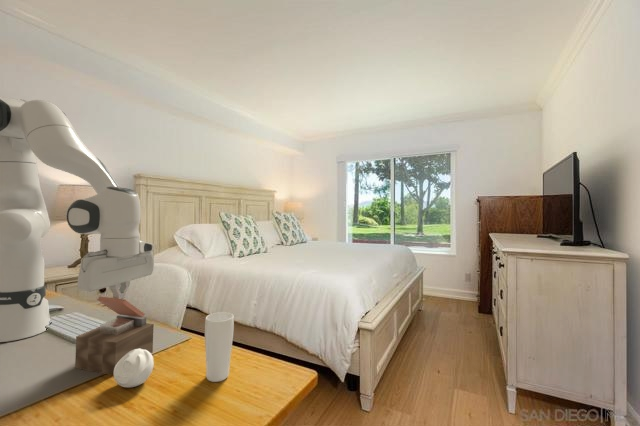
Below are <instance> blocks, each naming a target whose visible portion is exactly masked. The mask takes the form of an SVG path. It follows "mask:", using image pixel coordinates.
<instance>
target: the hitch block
mask: <svg viewBox="0 0 640 426" xmlns="http://www.w3.org/2000/svg"><path fill="white" fill-rule="evenodd" d="M116 318H122V319H130V320H134V324H133V328H131V329H129V330H126V331H124V332H122V333H120V334H118V335H113V334H106V333H100V326H99V327H96V328H94V329H91V330H89V331H86V332H84V333H83V332H82V333H81V334H79V335H76V336H75V367H74V368H75V369H79V370H86V371H88V372H89V371H90V372H95V373H101V374H106V375H113V376H114V374H113V372H114V368H115V366H116V364H117V363H118V362H119V361H120V359H121V358H122V357H123V356H125V355H126V354H127V353H128V352H130V351H132V350H134V349H139V348H140V349H144V350H147V351H149V352H150V353H151V354H152V353H153V351H154V323H150V322H149V323H148V322H147V316H143V317H135V316H128V315H120V314H117V315H116Z"/></svg>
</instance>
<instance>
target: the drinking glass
mask: <svg viewBox="0 0 640 426" xmlns="http://www.w3.org/2000/svg"><path fill="white" fill-rule="evenodd" d="M234 323H235V317H234V313H231V312H228V311H227V312H226V311H218V312H213V313H210V314H208V315H206V316H205V322H204V347H205V363H206V365H205V367H206V368H205V369H206V372H205V376H206V377H205V378H206V379H207V380H208V381H209V382H212V383H218V382H223V381H225V380H227V378H229V375H230V366H231V364H230V363H231V355H232V350H233V349H232V346H233V339H234V330H235V329H234V328H235V324H234Z"/></svg>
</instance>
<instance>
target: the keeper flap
mask: <svg viewBox="0 0 640 426" xmlns="http://www.w3.org/2000/svg"><path fill="white" fill-rule="evenodd" d="M96 300H97V301H98V302H99V303H101V304H102V305H104V306H105V307H106V308H108V309H110V310H112V311H113V312H115V313H116V314H117V315H128V316H135V317H145V313H144V312H143V311H142V310H140V309H138V308H137V306H134V304H132V303H130V302H129V301H128V300H126V299H125V298H124V299H116V298H113V297H107V296H99V297H98V298H97V299H96Z"/></svg>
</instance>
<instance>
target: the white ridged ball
mask: <svg viewBox="0 0 640 426" xmlns="http://www.w3.org/2000/svg"><path fill="white" fill-rule="evenodd" d="M154 365H155V364H154V355H152V353H150V352H149V351H147V350H144V349H140V348H139V349H134V350H132V351H130V352H128V353H127V354H126V355H125V356H123V357H122V358H121V359H120V361H119V362H118V363H117V364H116V366H115V368H114V372H113V374H114V375H113V378H114V381H115V382H116V384H118V385H119V386H120V387H123V388H126V389H127V388H134V387H138V386H140V385H141V384H143V383H145V382H146V381H147V380H148V379H149V377H150V375H151V374H152V372H153V370H154Z"/></svg>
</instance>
